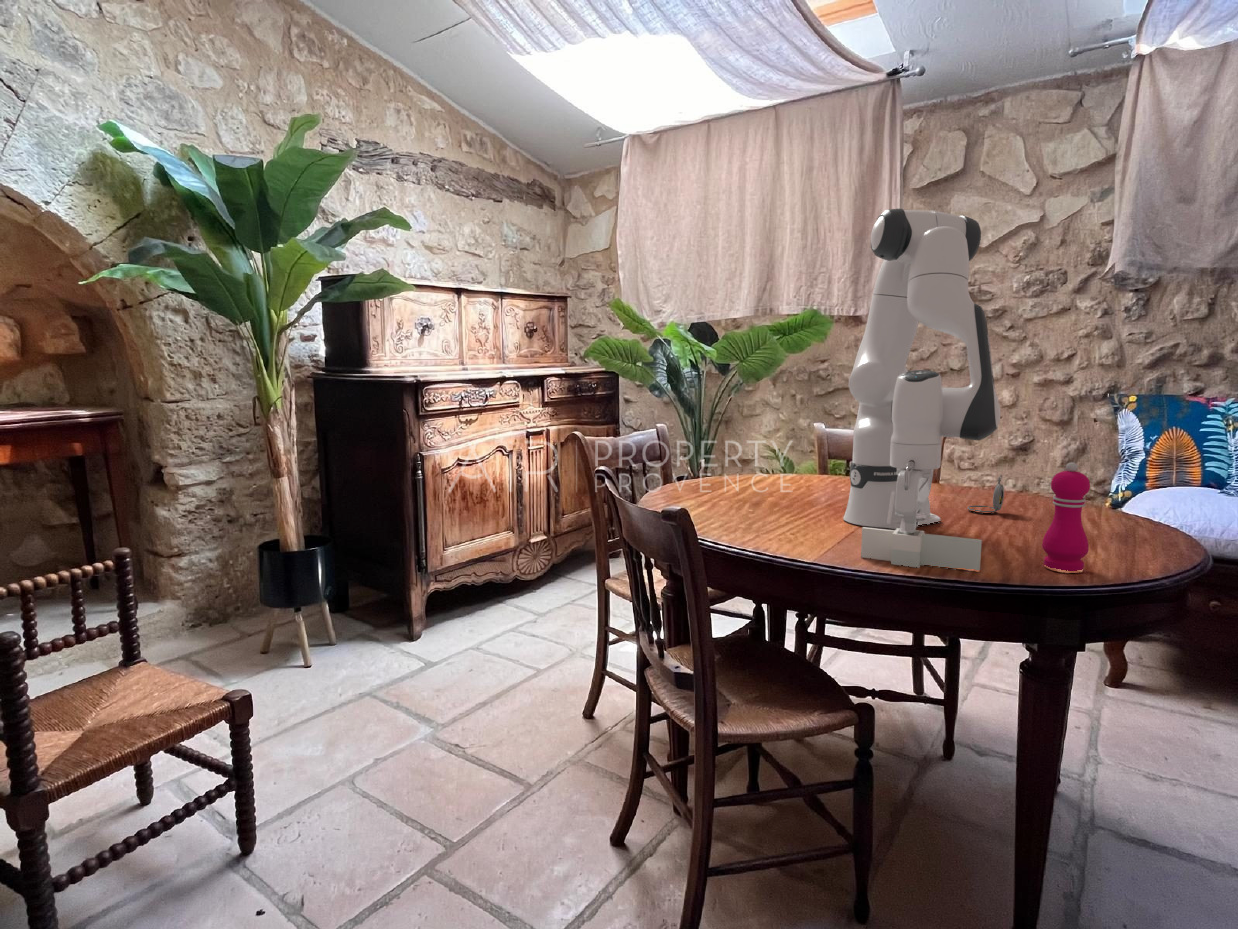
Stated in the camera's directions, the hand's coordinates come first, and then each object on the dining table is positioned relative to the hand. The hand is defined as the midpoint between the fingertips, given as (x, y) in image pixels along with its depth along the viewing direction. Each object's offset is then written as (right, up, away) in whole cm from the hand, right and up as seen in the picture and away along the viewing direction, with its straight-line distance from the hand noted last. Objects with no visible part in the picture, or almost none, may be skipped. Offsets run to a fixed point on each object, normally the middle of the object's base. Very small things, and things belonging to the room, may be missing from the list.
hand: (911, 529), depth 133 cm
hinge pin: (-1, -3, +1) cm, 3 cm away
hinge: (+1, -7, 0) cm, 7 cm away
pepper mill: (+26, -7, -4) cm, 28 cm away
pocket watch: (+37, 0, +43) cm, 56 cm away
